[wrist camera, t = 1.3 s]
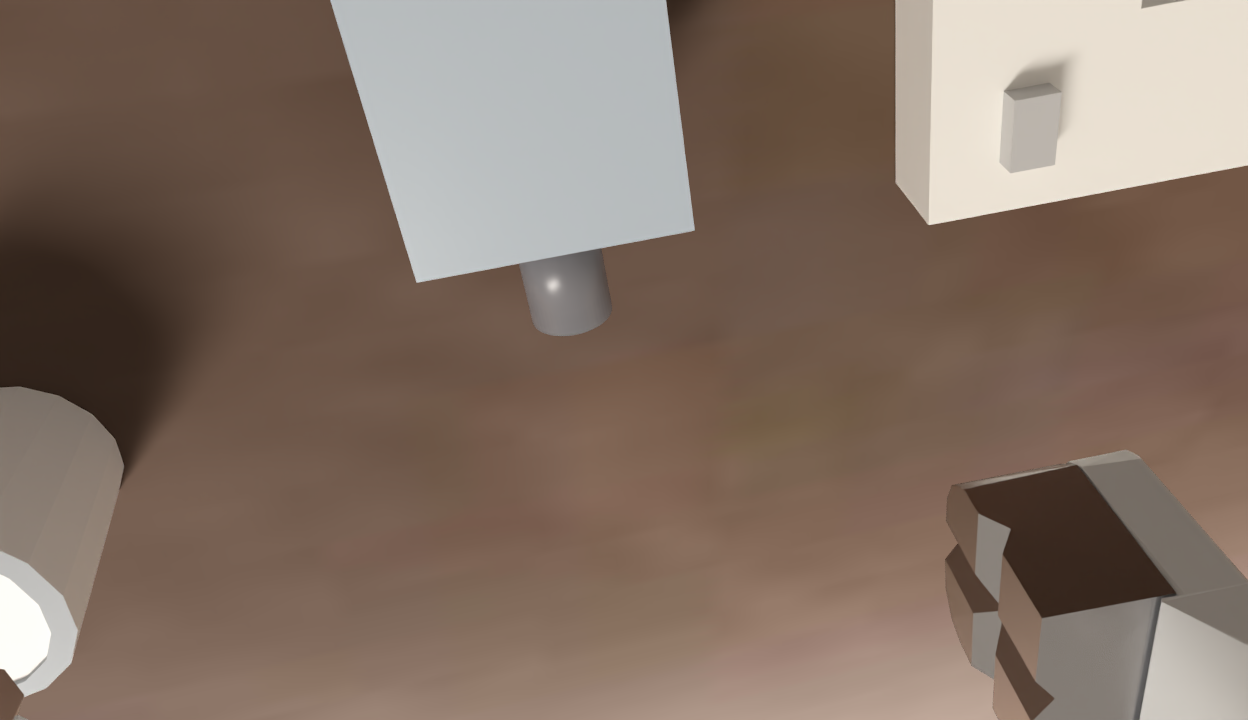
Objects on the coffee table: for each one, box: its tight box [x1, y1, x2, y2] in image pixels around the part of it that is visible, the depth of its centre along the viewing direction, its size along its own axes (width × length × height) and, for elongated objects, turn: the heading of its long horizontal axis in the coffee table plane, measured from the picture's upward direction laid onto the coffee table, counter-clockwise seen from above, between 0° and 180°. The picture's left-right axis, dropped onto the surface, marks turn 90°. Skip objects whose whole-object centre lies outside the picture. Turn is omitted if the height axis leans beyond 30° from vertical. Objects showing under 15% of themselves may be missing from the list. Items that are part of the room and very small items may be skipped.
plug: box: [331, 0, 695, 336], centre depth 24 cm, size 11×6×8 cm, turn 8°
